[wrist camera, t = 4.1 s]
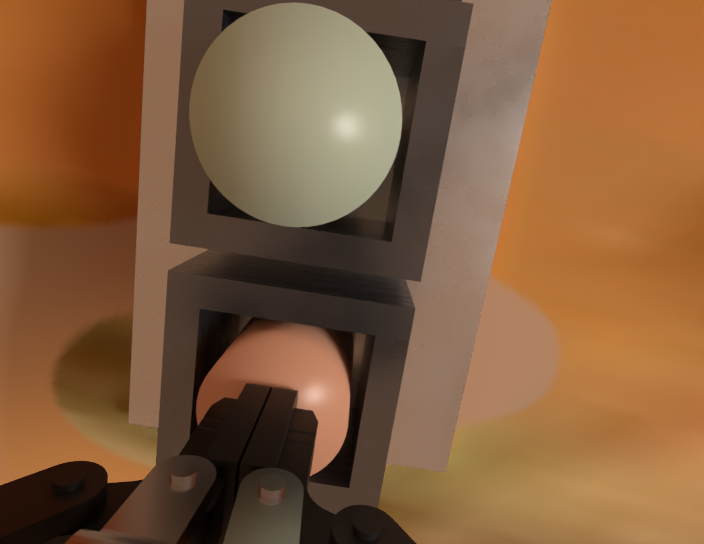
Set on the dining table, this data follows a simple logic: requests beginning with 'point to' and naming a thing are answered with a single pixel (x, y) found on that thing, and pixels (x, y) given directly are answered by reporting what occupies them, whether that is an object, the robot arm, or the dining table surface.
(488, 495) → the dining table surface
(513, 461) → the dining table surface
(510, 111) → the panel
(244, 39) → the pale green egg
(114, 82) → the dining table surface
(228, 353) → the brown egg
